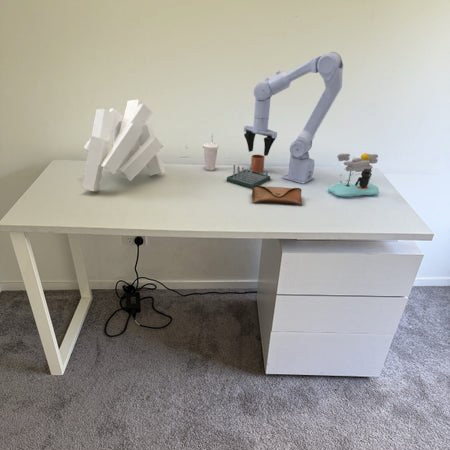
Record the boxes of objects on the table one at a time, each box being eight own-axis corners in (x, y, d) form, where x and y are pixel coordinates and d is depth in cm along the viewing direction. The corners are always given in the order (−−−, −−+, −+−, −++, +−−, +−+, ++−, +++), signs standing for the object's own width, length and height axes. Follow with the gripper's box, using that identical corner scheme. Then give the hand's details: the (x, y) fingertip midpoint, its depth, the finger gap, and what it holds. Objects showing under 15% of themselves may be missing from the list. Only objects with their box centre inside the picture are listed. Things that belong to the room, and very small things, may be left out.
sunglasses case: (252, 202, 134) (253, 183, 133) (251, 205, 141) (252, 186, 140) (304, 205, 134) (305, 185, 133) (300, 207, 141) (301, 189, 140)
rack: (270, 180, 154) (271, 164, 150) (251, 189, 145) (253, 172, 142) (245, 173, 159) (246, 157, 156) (226, 181, 151) (227, 165, 147)
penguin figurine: (370, 186, 152) (381, 147, 142) (384, 197, 143) (396, 155, 134) (323, 188, 148) (330, 148, 139) (334, 199, 140) (343, 157, 131)
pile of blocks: (139, 216, 135) (178, 117, 124) (56, 178, 130) (89, 71, 119) (154, 204, 167) (186, 125, 156) (88, 173, 162) (117, 89, 151)
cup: (265, 170, 162) (266, 156, 159) (258, 174, 159) (259, 159, 155) (255, 168, 165) (256, 153, 161) (248, 171, 162) (249, 156, 158)
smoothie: (217, 171, 160) (218, 136, 151) (202, 171, 159) (202, 135, 151) (218, 166, 165) (219, 132, 156) (203, 166, 165) (203, 131, 156)
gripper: (240, 115, 150) (238, 151, 158) (271, 122, 143) (268, 159, 152) (250, 113, 155) (248, 148, 163) (281, 119, 148) (277, 155, 156)
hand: (258, 153), depth 158 cm, fingers open, 7 cm apart
